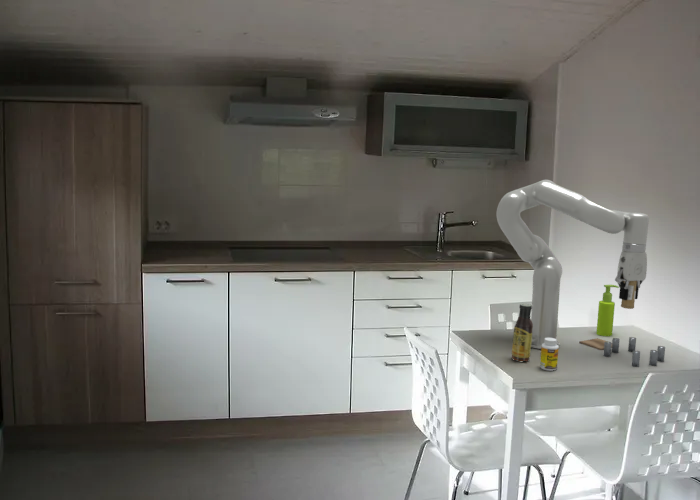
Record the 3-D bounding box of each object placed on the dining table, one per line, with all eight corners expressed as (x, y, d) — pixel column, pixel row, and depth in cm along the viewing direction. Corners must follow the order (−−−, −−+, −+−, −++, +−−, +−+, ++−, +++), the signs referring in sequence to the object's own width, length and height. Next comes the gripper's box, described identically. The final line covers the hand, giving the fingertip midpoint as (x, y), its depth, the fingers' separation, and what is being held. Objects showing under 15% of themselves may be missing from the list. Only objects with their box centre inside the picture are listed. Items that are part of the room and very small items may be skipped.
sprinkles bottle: (636, 308, 248) (641, 271, 245) (628, 309, 245) (633, 272, 243) (625, 305, 251) (630, 268, 249) (617, 306, 249) (621, 269, 247)
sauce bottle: (507, 359, 243) (511, 303, 240) (519, 356, 247) (522, 301, 244) (522, 364, 238) (526, 307, 235) (534, 360, 242) (538, 305, 239)
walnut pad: (600, 350, 256) (600, 348, 256) (579, 342, 265) (579, 341, 265) (619, 346, 261) (619, 345, 261) (597, 339, 269) (597, 338, 269)
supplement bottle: (544, 371, 231) (547, 341, 229) (536, 366, 236) (538, 337, 234) (560, 370, 232) (562, 341, 230) (551, 365, 237) (553, 336, 236)
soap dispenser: (616, 336, 274) (621, 286, 271) (599, 336, 274) (603, 286, 271) (611, 332, 280) (615, 283, 277) (594, 332, 280) (598, 283, 277)
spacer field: (640, 369, 236) (642, 354, 235) (597, 353, 251) (598, 340, 251) (670, 362, 243) (671, 348, 242) (626, 348, 259) (627, 335, 258)
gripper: (625, 250, 238) (619, 303, 241) (659, 249, 245) (653, 299, 249) (608, 247, 244) (602, 298, 247) (641, 245, 252) (635, 294, 255)
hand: (628, 298), depth 248 cm, fingers closed on sprinkles bottle, 4 cm apart
